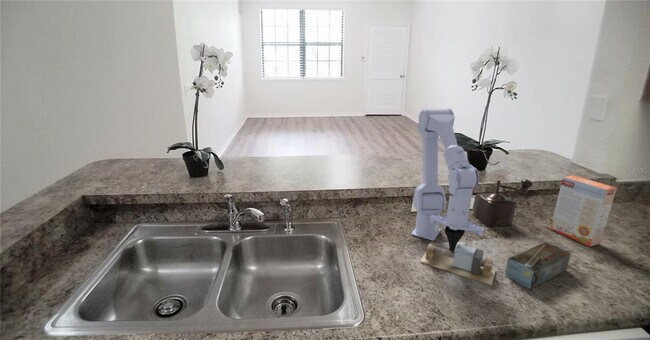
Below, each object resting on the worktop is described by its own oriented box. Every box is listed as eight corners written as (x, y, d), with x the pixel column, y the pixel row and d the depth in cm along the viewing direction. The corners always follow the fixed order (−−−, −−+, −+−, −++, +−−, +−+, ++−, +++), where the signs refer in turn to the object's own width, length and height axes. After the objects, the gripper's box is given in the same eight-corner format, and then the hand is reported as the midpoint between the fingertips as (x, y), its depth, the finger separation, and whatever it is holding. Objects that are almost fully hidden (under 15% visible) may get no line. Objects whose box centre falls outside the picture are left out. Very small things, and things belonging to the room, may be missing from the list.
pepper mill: (487, 227, 125) (495, 182, 119) (472, 214, 135) (479, 172, 130) (526, 226, 126) (536, 181, 121) (508, 213, 137) (516, 171, 131)
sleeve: (452, 265, 99) (455, 249, 97) (456, 258, 102) (458, 242, 101) (470, 271, 96) (473, 254, 94) (473, 263, 100) (476, 247, 98)
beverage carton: (502, 275, 97) (506, 255, 95) (540, 258, 106) (545, 239, 104) (529, 290, 90) (535, 269, 88) (567, 271, 99) (573, 251, 97)
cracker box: (601, 244, 114) (618, 187, 108) (589, 247, 112) (606, 189, 106) (560, 226, 126) (573, 174, 120) (549, 229, 124) (562, 176, 118)
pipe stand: (420, 262, 102) (421, 249, 101) (427, 250, 109) (429, 238, 107) (491, 285, 92) (494, 271, 91) (495, 270, 98) (498, 257, 97)
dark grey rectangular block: (470, 273, 96) (473, 256, 94) (473, 264, 100) (476, 248, 99) (477, 275, 95) (480, 259, 93) (480, 266, 99) (483, 250, 98)
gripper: (429, 207, 96) (424, 248, 100) (483, 219, 89) (476, 264, 93) (435, 199, 102) (430, 238, 106) (487, 210, 94) (480, 252, 99)
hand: (452, 249), depth 100 cm, fingers closed
